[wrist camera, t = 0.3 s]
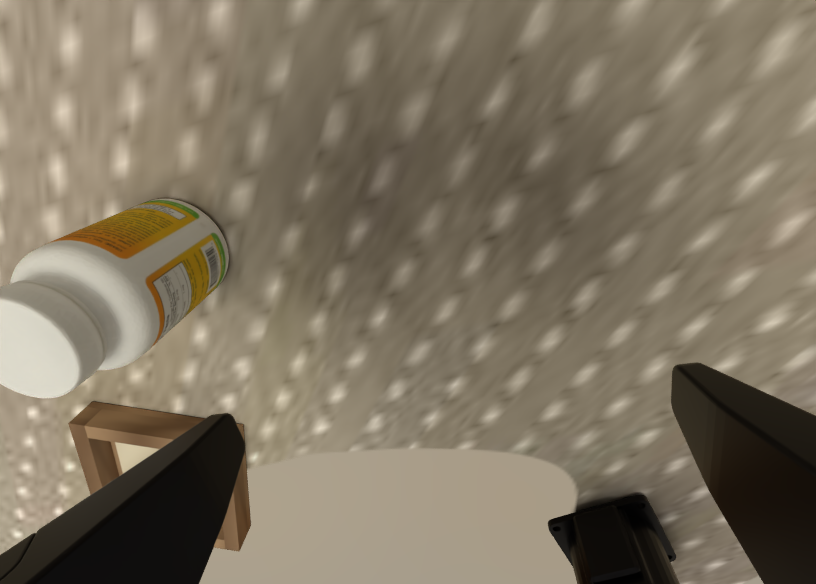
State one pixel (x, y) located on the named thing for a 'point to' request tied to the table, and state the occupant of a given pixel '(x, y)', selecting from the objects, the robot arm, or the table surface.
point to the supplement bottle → (105, 295)
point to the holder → (146, 454)
